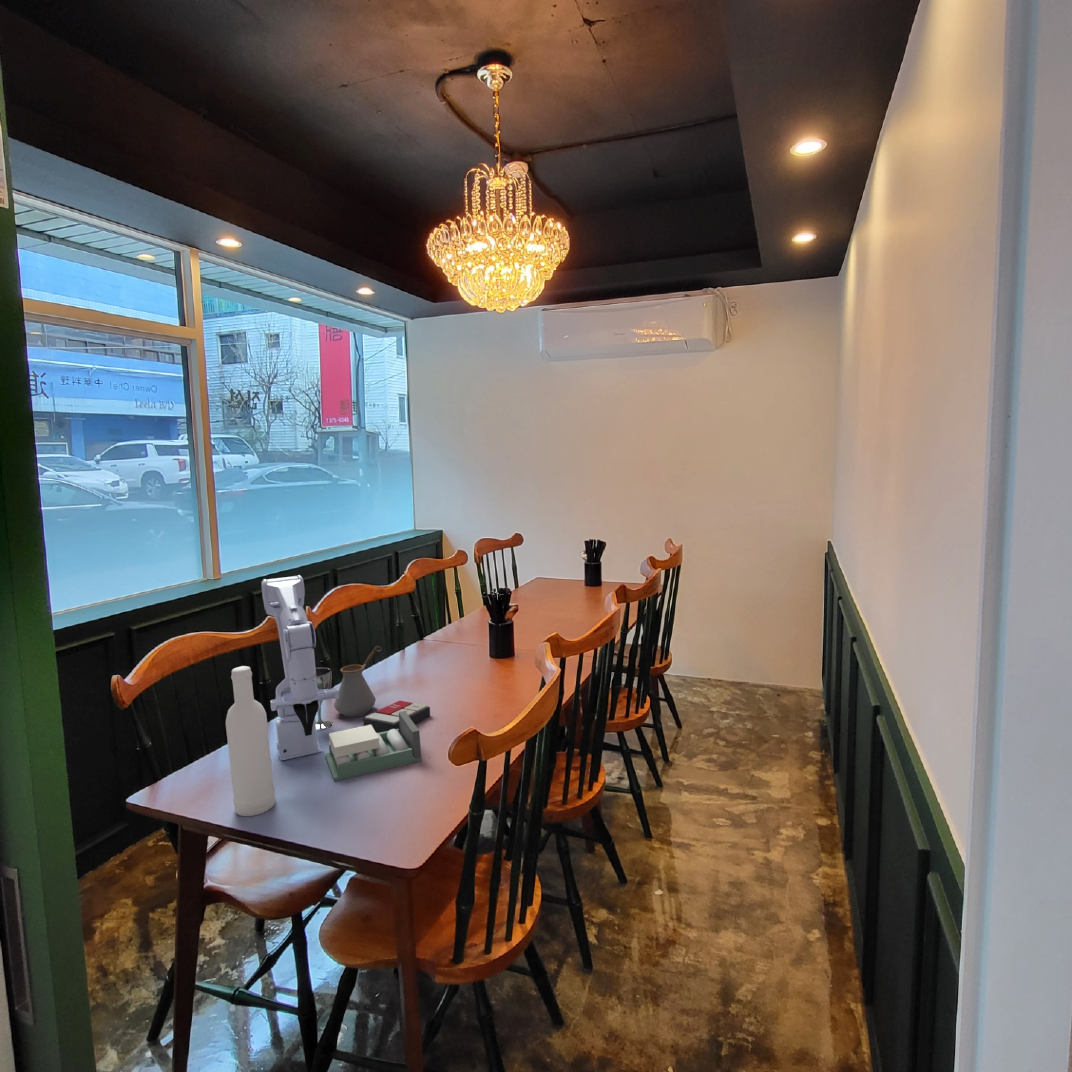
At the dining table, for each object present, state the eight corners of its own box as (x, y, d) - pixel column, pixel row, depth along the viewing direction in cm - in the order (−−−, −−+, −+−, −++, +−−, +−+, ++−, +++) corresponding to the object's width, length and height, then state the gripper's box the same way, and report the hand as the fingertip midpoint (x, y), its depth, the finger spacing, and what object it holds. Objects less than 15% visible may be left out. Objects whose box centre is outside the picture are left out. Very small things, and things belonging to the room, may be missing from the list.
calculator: (430, 704, 186) (394, 721, 173) (431, 719, 186) (395, 738, 173) (399, 698, 191) (362, 715, 178) (399, 713, 191) (362, 731, 178)
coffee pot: (363, 721, 185) (359, 668, 183) (326, 718, 188) (322, 666, 186) (399, 693, 205) (395, 645, 203) (365, 691, 208) (361, 644, 206)
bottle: (263, 793, 147) (250, 660, 143) (283, 804, 142) (269, 666, 138) (227, 809, 141) (212, 670, 137) (246, 821, 136) (231, 677, 132)
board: (335, 757, 153) (334, 747, 152) (329, 742, 161) (328, 733, 161) (379, 747, 157) (378, 737, 157) (371, 733, 165) (371, 724, 165)
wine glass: (324, 717, 188) (320, 665, 186) (341, 723, 183) (336, 670, 181) (299, 727, 182) (294, 673, 180) (315, 734, 177) (310, 679, 175)
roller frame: (334, 781, 151) (331, 749, 150) (325, 756, 163) (322, 727, 162) (421, 760, 159) (419, 730, 158) (406, 738, 172) (404, 710, 171)
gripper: (269, 687, 146) (275, 747, 147) (338, 675, 152) (343, 733, 154) (267, 678, 152) (273, 735, 154) (333, 667, 158) (338, 722, 160)
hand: (308, 733), depth 154 cm, fingers closed
